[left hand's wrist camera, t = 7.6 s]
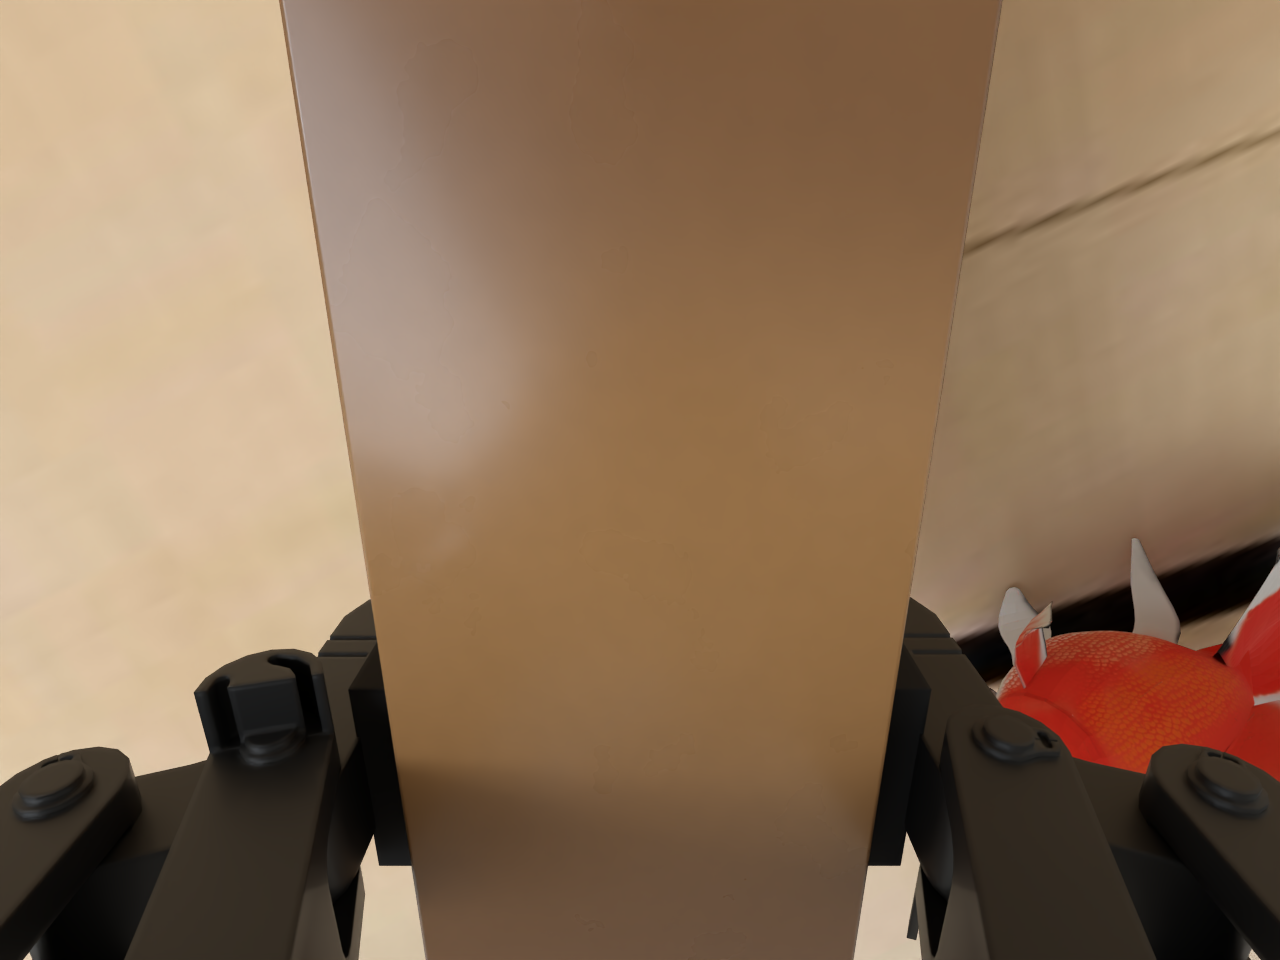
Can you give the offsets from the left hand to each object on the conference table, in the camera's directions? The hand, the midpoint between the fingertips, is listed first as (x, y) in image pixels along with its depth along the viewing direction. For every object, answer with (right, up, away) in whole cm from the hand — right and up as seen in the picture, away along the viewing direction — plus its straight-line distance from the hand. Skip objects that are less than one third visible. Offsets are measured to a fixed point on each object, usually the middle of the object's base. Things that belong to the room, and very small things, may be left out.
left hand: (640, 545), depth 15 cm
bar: (0, +7, -2) cm, 8 cm away
